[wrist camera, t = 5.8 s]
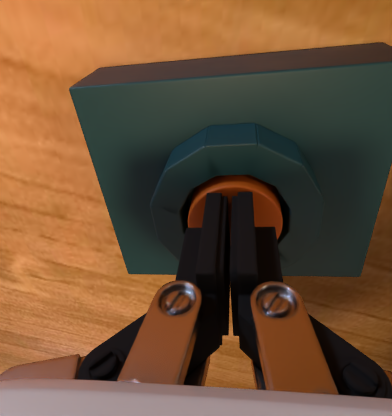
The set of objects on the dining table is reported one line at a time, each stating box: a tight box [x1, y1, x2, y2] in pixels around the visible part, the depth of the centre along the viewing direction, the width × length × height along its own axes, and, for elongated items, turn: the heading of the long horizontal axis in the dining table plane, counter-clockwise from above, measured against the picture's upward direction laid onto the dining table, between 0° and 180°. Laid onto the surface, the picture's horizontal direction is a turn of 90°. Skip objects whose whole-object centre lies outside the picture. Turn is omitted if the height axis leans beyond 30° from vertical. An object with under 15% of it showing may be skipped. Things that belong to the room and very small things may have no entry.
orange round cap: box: [188, 175, 283, 243], centre depth 13 cm, size 4×4×2 cm
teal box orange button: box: [69, 43, 392, 277], centre depth 14 cm, size 12×10×5 cm
